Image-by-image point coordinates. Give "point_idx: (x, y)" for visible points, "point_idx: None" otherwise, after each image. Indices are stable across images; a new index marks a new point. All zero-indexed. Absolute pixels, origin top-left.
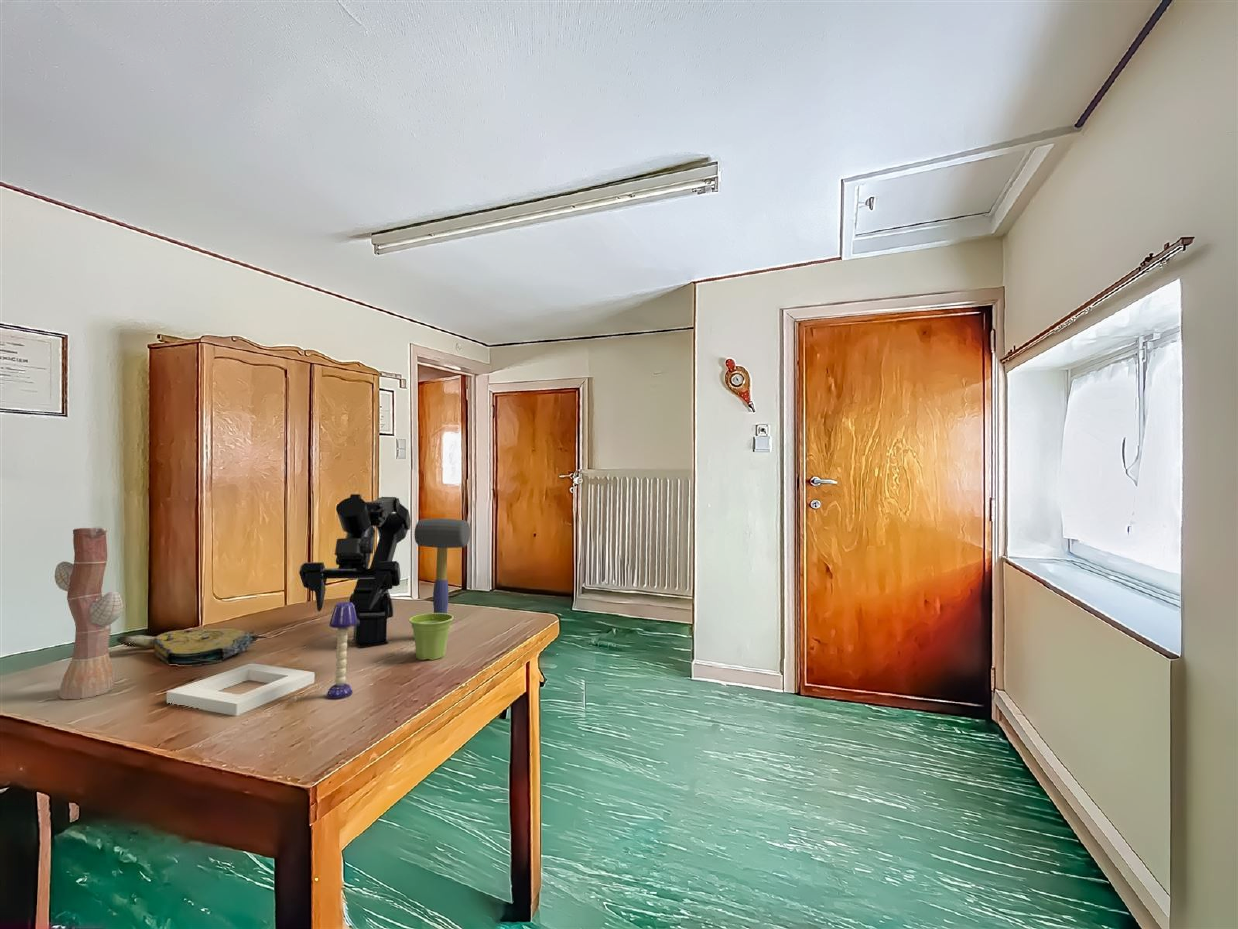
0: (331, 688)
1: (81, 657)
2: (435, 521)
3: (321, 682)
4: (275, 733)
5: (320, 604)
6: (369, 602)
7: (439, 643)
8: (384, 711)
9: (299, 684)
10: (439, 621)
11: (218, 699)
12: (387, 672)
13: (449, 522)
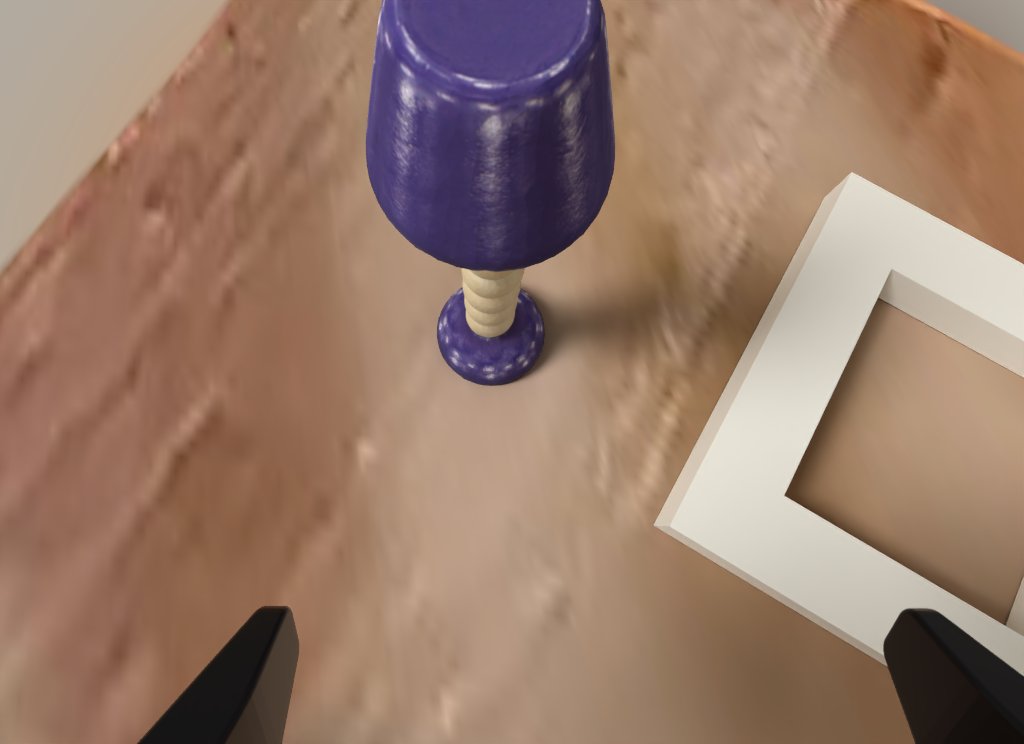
0: (524, 304)
1: None
2: None
3: (619, 528)
4: (625, 32)
5: (947, 666)
6: (249, 653)
7: None
8: (279, 123)
9: (702, 444)
10: None
11: (952, 234)
12: (298, 629)
13: None
